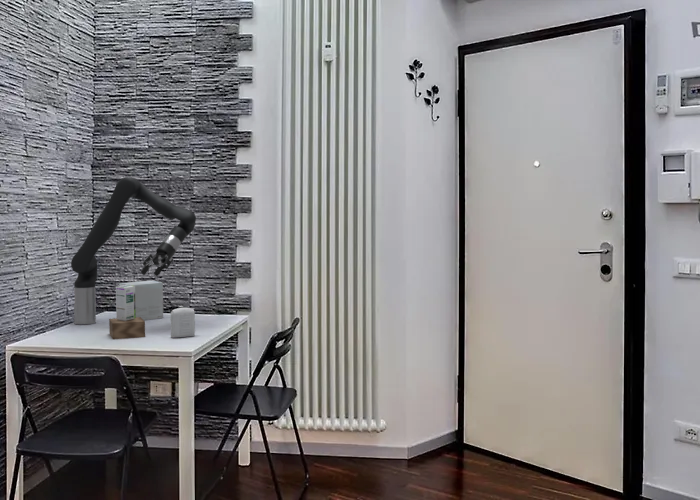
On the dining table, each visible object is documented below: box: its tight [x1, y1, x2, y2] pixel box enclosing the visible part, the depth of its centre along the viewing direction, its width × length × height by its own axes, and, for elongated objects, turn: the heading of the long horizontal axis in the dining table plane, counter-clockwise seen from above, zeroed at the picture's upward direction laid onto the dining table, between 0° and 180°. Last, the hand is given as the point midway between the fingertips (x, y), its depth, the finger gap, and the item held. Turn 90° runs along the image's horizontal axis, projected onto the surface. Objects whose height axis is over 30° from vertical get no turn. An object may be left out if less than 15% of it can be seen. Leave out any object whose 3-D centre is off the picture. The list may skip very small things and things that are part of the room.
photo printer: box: [170, 307, 196, 339], centre depth 286 cm, size 10×4×12 cm, turn 126°
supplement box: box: [118, 280, 164, 321], centre depth 334 cm, size 17×13×18 cm
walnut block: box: [108, 317, 146, 340], centre depth 288 cm, size 13×13×7 cm
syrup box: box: [115, 285, 136, 321], centre depth 288 cm, size 6×6×14 cm
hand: (148, 274), depth 296 cm, fingers open, 8 cm apart
